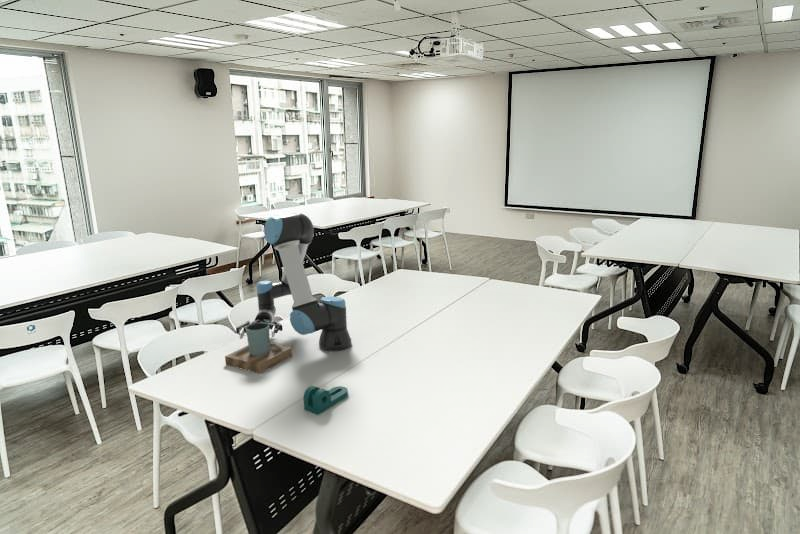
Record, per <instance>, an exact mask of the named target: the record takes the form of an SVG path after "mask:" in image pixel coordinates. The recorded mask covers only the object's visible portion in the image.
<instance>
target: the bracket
mask: <svg viewBox="0 0 800 534" xmlns="http://www.w3.org/2000/svg"><path fill="white" fill-rule="evenodd" d="M348 396H349V390H348V388H347V387H346V386H341V385H339V386H334V387H331V388H330V389H328V390H327V389H324V388H319V387H318V386H315V385H309V386H307V388H306V389H305V391H304V393H303V409H304V411H307V412H309V413H312V414H314V415H317V416H319V415H321V414H322V413H324V412H325V411H327V410H329V409H330V408H332V407H333V406H335V405H337V404H338V403H340V402H341V401H343V400H345V399H346V398H347V397H348Z"/></svg>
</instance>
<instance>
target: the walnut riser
mask: <svg viewBox="0 0 800 534" xmlns="http://www.w3.org/2000/svg"><path fill="white" fill-rule="evenodd" d="M269 344H270V352H269V353H267V354H265V355H260V356H254V355H251V354H250V351H249V345H248V344H247V345H246V346H244V347H242V348H241V347H240V348H239V349H237V350H235V351H233V352H231V353H229V354H227V355H225V356H224V358H225V360H224V361H225V365H226V366H229V365H230V367H233V366H234V367H233V368H236V367H238V369H240V368H242V369H241V370H244V369H246V370H245V371H248V370H250V371H249V372H252V371H253V373H256V372H257V374H259V373H261V374H262V373H264V372H266V371H268V370H269V368H270V369H271V368H273V367H275V366H277V365H279V364H280V363H282V362H284V361H286V360H288V359H289V358H291V357H293V349H292V347H291V346H290V347H289V346H285V345H280V344H277V343H272V342H269ZM278 363H279V364H278ZM267 369H268V370H267ZM265 370H266V371H265Z"/></svg>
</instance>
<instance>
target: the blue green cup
mask: <svg viewBox="0 0 800 534" xmlns="http://www.w3.org/2000/svg"><path fill="white" fill-rule="evenodd" d="M245 329H246V332H245V333H246V337H247V343H248V344H247V346H248V345H249V351H250V354H251V355H254V356H260V355H265V354H267V353H269V352H270V344H269V343H270V338H271V337H270V329H269V324H268V323H264V322H259V323H253V324H250V325H247V326H246V327H245Z"/></svg>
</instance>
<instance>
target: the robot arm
mask: <svg viewBox="0 0 800 534" xmlns="http://www.w3.org/2000/svg"><path fill="white" fill-rule="evenodd" d="M313 224H314V223H312V221H311V219H310V218H309V216H307V215H306V214H303V213H298V212H297V213H294V212H293V213H289V214H278V215H276V216H275V215H274V216H271V217H269V218H268V219H267V220H266V222H265V224H264V226H263V227H264V228H263V232H264V233H263V234H264V237H265V241H267V242H268V244H271V245H273V248H274V249H275V250H276V251H278V253H279V256H280V257H279V258H280V261H281V263H282V267H283V272H282V276H281V279H280V281H277V282H272V281H271V280H260V281H258V282H257V283H256V293H257V294H256V296H257V301H258V302H257V307H258V312H257V314H256V316H255V318H254V320H253V321H252V322H250V320H247V321H246V322H244V323H242V324H241V325H239V326H236V327H235V329H236V334H238V335H239V340H243V338H244V335H245V333H246V329H245V327H246V326H247V325H250V324H253V323H259V322H264V323H268V324H269V330H271V338H275V334H277V333H279V331H280V332H281V331H283V324H281V323H280V321H278V320H277V319H274V317H275V315H276V311H277V309H276V306H275V299H278V298H282V297H286V296H290V295H291V297H292V300H293V304H292V306H291V310H292V311H291V312H290V314H289V322H290V324H291V326H292V329H294V332H296V333H298V334H299V335H302V336H306V335H309V334H313V333H315V332H317V331H321V332H320V337H319V340H318V346H319V348H320V349H321V350H323V351H327V352H328V351H329V352H337V351H342V350H343V351H344V350H346V349H349V347H351V346H352V338H351V336H350V334H349V330H348V325H347V305H346V300H345V299H344V298H342V297H338V296H323V297H321V298H319V301H318V298H315V297H314V295H313V293H312V289H311V286H310V283H309V279H308V276H307V272H306V270H305V266H304V263H303V262H304V260H305V256H306V254H307V250H308V247H309V245H310V244H311V243H312V241H313V238H314V232H315V231H314V225H313ZM273 319H274V320H273Z"/></svg>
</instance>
